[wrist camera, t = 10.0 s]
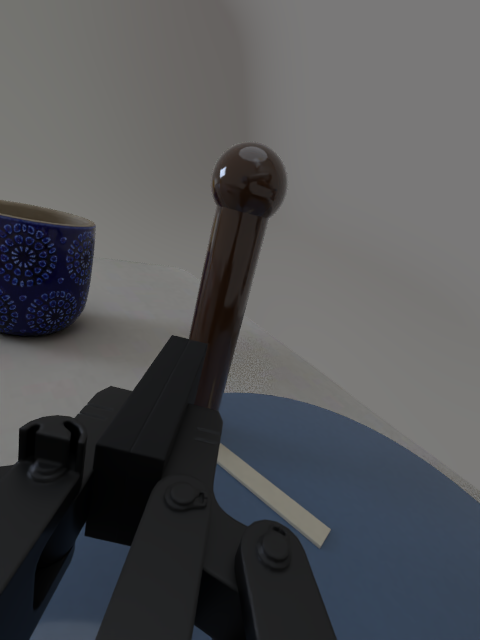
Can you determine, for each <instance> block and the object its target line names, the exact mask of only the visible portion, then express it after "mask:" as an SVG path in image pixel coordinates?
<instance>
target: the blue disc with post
mask: <svg viewBox="0 0 480 640" xmlns="http://www.w3.org/2000/svg"><path fill="white" fill-rule="evenodd" d="M287 187H288V179H287V172H286V169H285V166H284V164H283V162H282V160H281V159H280V157H279V156H278V155H277V153H276V152H274V151H273V150H272V149H271V148H269V147H268V146H266V145H264V144H261V143H258V142H251V141H250V142H242V143H238V144H235V145H233V146H231V147H230V148H228V149H227V150H226V151H225V152H224V153H223V154H222V155H221V156H220V157H219V158H218V160H217V162H216V164H215V166H214V168H213V172H212V176H211V192H212V196H213V199H214V202H215V203H216V210H215V215H214V219H213V225H212V229H211V234H210V239H209V244H208V248H207V253H206V258H205V263H204V268H203V272H202V277H201V282H200V287H199V292H198V297H197V301H196V306H195V311H194V316H193V321H192V325H191V330H190V335H189V339H190V340H194V341H198V342H202V343H206V344H208V346H207V351H206V355H205V359H204V364H203V368H202V372H201V377H200V381H199V385H198V390H197V394H196V398H195V402H194V405H197V406H201V407H205V408H209V409H214V410H218V411H219V413H220V415H221V418H222V420H223V427H222V433H221V440H220V445H219V452H218V458H217V465H216V471H215V477H214V484H213V491H214V495H215V499H216V500H217V502H218V504H219V506H220V507H221V508H222V509H223V510H224V511H225V512H226V513H227V514H228V515H230V516H231V517H232V518H234V519H235V520H237V521H239V522H241V523H242V524H244V525H246V526H249V525H251V524H252V523H253V522H254V521H259V520H264V519H266V520H271V521H277V522H279V523H280V524H282V525H284V526H286V527H287V528H289V529H290V530H291V531H292V532H293V533H294V534H295V535H296V536H297V537H298V539H299V541H300V542H301V544H302V546H303V548H304V550H305V552H306V555H307V558H308V561H309V563H310V566H311V569H312V572H313V574H314V577H315V580H316V583H317V585H318V588H319V591H320V594H321V597H322V599H323V602H324V605H325V608H326V610H327V613H328V616H329V619H330V621H331V624H332V627H333V630H334V632H335V635H336V638H337V640H480V503H478V502H477V501H476V500H475V499H474V498H472V497H471V496H470V495H469V494H468V493H466V492H465V491H464V490H463V489H462V488H460V487H459V486H458V485H457V484H456V483H454V482H453V481H452V480H450V479H449V478H448V477H446V476H445V475H444V474H442V473H441V472H440V471H438V470H437V469H436V468H434V467H433V466H432V465H430V464H429V463H427V462H426V461H424V460H423V459H421V458H420V457H418V456H417V455H415V454H414V453H412V452H411V451H409V450H408V449H406V448H404V447H403V446H401V445H399V444H398V443H396V442H394V441H393V440H391V439H389V438H388V437H386V436H384V435H382V434H380V433H378V432H376V431H374V430H373V429H371V428H369V427H367V426H365V425H363V424H360V423H358V422H356V421H354V420H352V419H350V418H347V417H345V416H342V415H340V414H337V413H335V412H332V411H330V410H327V409H324V408H321V407H318V406H315V405H312V404H308V403H305V402H301V401H297V400H293V399H289V398H283V397H278V396H272V395H264V394H255V393H224V390H225V386H226V382H227V378H228V374H229V370H230V366H231V363H232V359H233V355H234V351H235V347H236V343H237V340H238V336H239V332H240V328H241V324H242V320H243V316H244V312H245V309H246V305H247V301H248V297H249V293H250V289H251V286H252V281H253V278H254V274H255V270H256V266H257V262H258V259H259V255H260V251H261V247H262V243H263V239H264V235H265V231H266V228H267V224H268V220H269V218H271V217H272V216H273V215H274V214H275V213H276V212H277V211H278V210H279V209H280V207H281V205H282V204H283V202H284V199H285V196H286V193H287ZM85 526H86V522H85V524H84V526H83V528H82V530H81V531H80V533H79V535H78V537H77V539H76V542H75V551H74V554H73V557H72V560H71V562H70V564H69V566H68V568H67V570H66V572H65V573H64V575H63V577H62V579H61V581H60V583H59V585H58V587H57V589H56V590H55V592H54V594H53V596H52V598H51V600H50V602H49V604H48V605H47V607H46V609H45V611H44V613H43V615H42V617H41V619H40V621H39V622H38V624H37V626H36V628H35V630H34V632H33V634H32V636H31V637H30V639H29V640H95V639H96V636H97V633H98V631H99V628H100V625H101V623H102V620H103V618H104V615H105V612H106V610H107V607H108V604H109V602H110V599H111V597H112V594H113V591H114V589H115V586H116V584H117V581H118V578H119V576H120V573H121V570H122V568H123V565H124V563H125V560H126V557H127V555H128V552H129V549H130V547H131V546H127V545H122V544H118V543H113V542H109V541H104V540H100V539H95V538H91V537H86V536H84V534H85ZM192 640H212V638H211V637H210V636H209V635H207V634H206V633H204V632H203V631H202V630H200V629H199V628H197V627H196V626H195V625H194V628H193V634H192Z"/></svg>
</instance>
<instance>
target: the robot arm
mask: <svg viewBox="0 0 480 640" xmlns="http://www.w3.org/2000/svg"><path fill="white" fill-rule="evenodd" d="M207 346H208V344H206V343H202V342H198V341H194V340H190V339H186V338H182V337H178V336H174V335H172V336H171V337H170V339H169V340H168V342H167V343H166V344H165V346H164V347H163V349H162V350H161V352H160V353H159V354H158V356H157V357H156V359H155V360H154V362H153V363H152V364H151V366H150V367H149V369H148V370H147V372H146V373H145V374H144V376H143V377H142V379H141V380H140V382H139V383H138V384H137V386H136V387H135V389H134V390H133V391H129V390H125V389H121V388H117V387H112V386H110V387H108V388H106V389H104V390H102V391H100V392H98V393H96V395H95V396H94V397H93V398H92V399H91V400H90V401H89V402H88V404H87V405H86V406H85V407H84V408H83V409H82V410H81V411H80V414H78V415H77V416H76V417H75V418H72V417H68V416H59V415H56V416H47V417H42V418H39V419H36V420H33V421H30V422H29V423H27V424H25V425H24V426H22V427H21V428H19V456H18V462H17V463H16V464H15V465H10V466H1V467H0V640H29V639H30V637H31V636H32V634H33V632H34V630H35V628H36V626H37V624H38V622H39V621H40V619H41V617H42V615H43V613H44V611H45V609H46V607H47V605H48V604H49V602H50V600H51V598H52V596H53V594H54V592H55V590H56V589H57V587H58V585H59V583H60V581H61V579H62V577H63V575H64V573H65V572H66V570H67V568H68V566H69V564H70V562H71V560H72V557H73V554H74V551H75V542H76V539H77V537H78V535H79V533H80V531H81V530H82V528H83V526H84V524H85V522H86V526H85V534H84V536H86V537H91V538H95V539H100V540H104V541H109V542H113V543H118V544H122V545H127V546H131V547H130V549H129V552H128V555H127V557H126V560H125V563H124V565H123V568H122V570H121V573H120V576H119V578H118V581H117V584H116V586H115V589H114V591H113V594H112V597H111V599H110V602H109V604H108V607H107V610H106V612H105V615H104V618H103V620H102V623H101V625H100V628H99V631H98V633H97V636H96V639H95V640H192V634H193V628H194V625H195V626H196V627H197V628H199V629H200V630H202V631H203V632H204V633H206V634H207V635H209V636H210V637H211V638H212V640H337V638H336V635H335V632H334V630H333V627H332V624H331V621H330V619H329V616H328V613H327V610H326V608H325V605H324V602H323V599H322V597H321V594H320V591H319V588H318V585H317V583H316V580H315V577H314V574H313V572H312V569H311V566H310V563H309V561H308V558H307V555H306V552H305V550H304V548H303V546H302V544H301V542H300V541H299V539H298V537H297V536H296V535H295V534H294V533H293V532H292V531H291V530H290V529H289V528H287V527H286V526H284V525H282V524H280V523H279V522H277V521H271V520H266V519H264V520H259V521H254V522H253V523H252V524H251V525H249V526H246V525H244V524H242V523H241V522H239V521H237V520H235V519H234V518H232V517H231V516H230V515H228V514H227V513H226V512H225V511H224V510H223V509H222V508H221V507H220V506H219V504H218V502H217V500H216V499H215V495H214V491H213V484H214V477H215V471H216V465H217V458H218V452H219V445H220V440H221V433H222V427H223V420H222V418H221V415H220V413H219V411H218V410H214V409H209V408H205V407H201V406H197V405H194V402H195V398H196V394H197V390H198V385H199V381H200V377H201V372H202V368H203V364H204V359H205V355H206V351H207Z"/></svg>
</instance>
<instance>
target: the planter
mask: <svg viewBox="0 0 480 640" xmlns="http://www.w3.org/2000/svg"><path fill="white" fill-rule="evenodd" d="M95 228H96V226H95V224H94V223H93V222H92V221H90V220H88V219H85V218H82V217H79V216H76V215H73V214H69V213H65V212H61V211H57V210H53V209H48V208H43V207H38V206H34V205H28V204H22V203H17V202H10V201H4V200H0V332H1V333H6V334H12V335H22V336H34V335H44V334H50V333H54V332H58V331H60V330H63V329H64V328H66V327H68V326H70V325H71V324H72V323H73V322H74V321H75V320H76V319H77V318H78V317H79V316H80V314H81V313H82V311H83V310H84V307H85V304H86V302H87V297H88V292H89V287H90V281H91V273H92V265H93V255H94V244H95V230H96V229H95Z"/></svg>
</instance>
